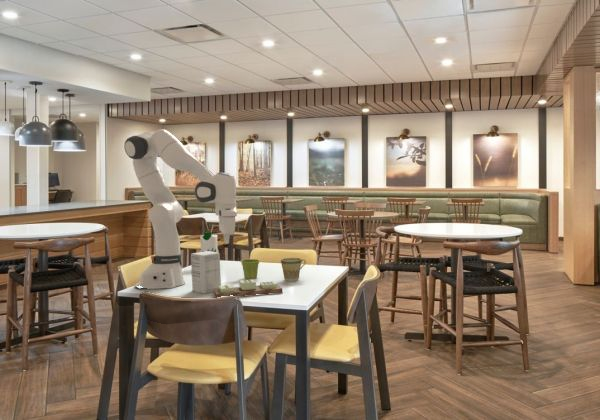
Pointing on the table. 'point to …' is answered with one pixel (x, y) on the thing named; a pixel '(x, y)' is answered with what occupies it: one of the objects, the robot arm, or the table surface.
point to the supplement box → (205, 271)
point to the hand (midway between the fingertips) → (226, 243)
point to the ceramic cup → (291, 268)
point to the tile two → (247, 284)
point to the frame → (248, 291)
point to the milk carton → (209, 242)
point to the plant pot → (250, 268)
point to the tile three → (268, 285)
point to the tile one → (226, 288)
